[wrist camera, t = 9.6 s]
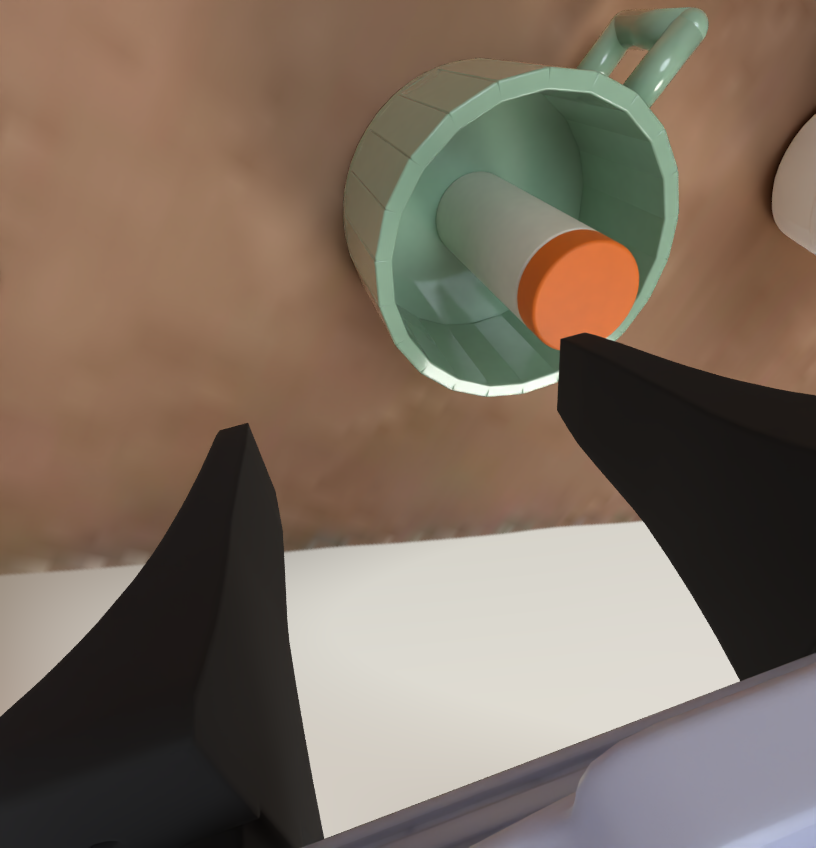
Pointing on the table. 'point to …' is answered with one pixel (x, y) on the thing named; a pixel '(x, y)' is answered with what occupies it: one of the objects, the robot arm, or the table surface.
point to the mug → (524, 168)
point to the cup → (798, 189)
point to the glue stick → (538, 258)
